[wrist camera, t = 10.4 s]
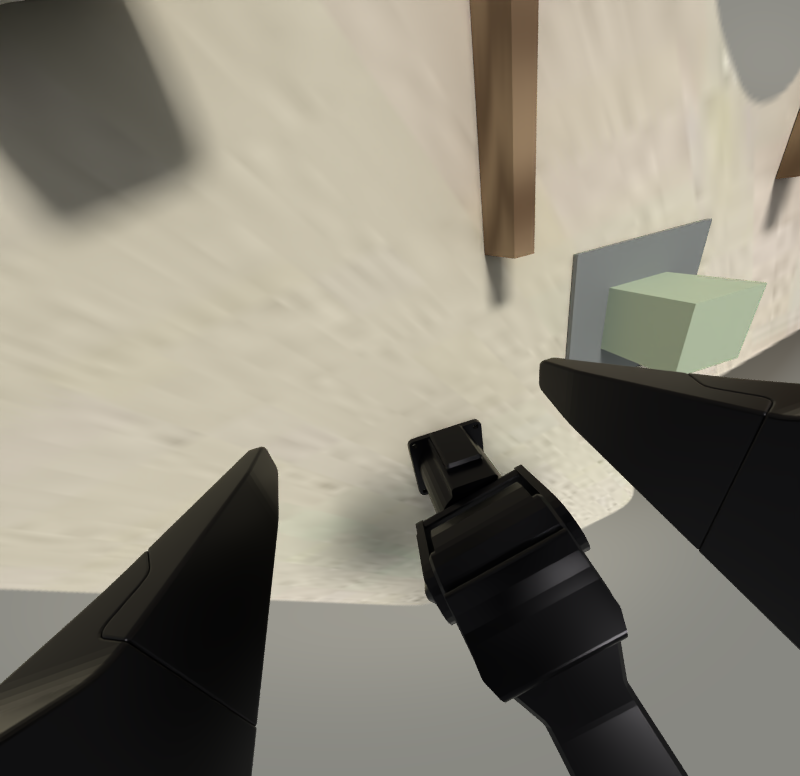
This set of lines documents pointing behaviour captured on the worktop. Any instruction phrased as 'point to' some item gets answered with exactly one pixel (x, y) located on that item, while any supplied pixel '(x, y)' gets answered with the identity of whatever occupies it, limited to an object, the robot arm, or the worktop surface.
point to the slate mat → (624, 281)
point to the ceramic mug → (6, 0)
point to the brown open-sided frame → (521, 122)
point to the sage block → (680, 320)
